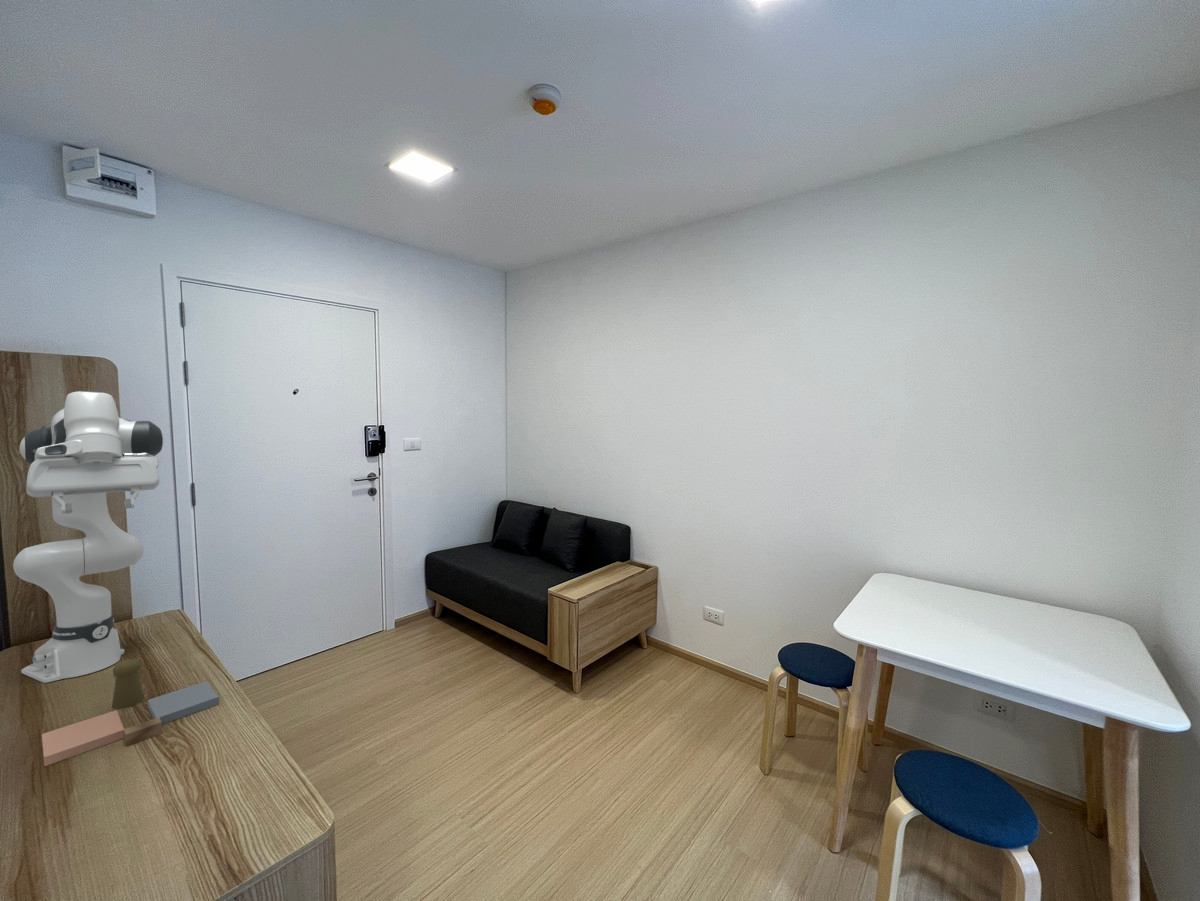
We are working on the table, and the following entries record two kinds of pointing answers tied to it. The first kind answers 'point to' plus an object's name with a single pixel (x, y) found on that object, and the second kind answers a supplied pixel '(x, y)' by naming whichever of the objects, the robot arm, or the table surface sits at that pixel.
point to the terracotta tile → (81, 737)
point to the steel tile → (183, 702)
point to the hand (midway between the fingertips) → (99, 510)
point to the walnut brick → (142, 731)
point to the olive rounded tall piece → (127, 684)
